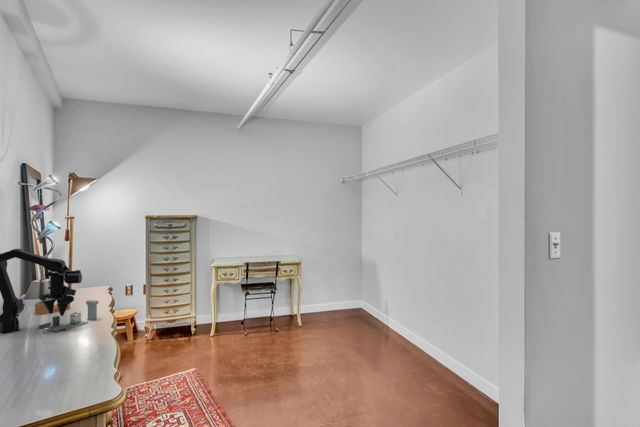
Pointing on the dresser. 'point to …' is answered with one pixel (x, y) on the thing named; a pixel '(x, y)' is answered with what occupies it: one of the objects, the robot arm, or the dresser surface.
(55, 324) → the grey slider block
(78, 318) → the silver bell
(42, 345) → the dresser surface
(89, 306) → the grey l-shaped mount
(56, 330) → the rail
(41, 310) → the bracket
